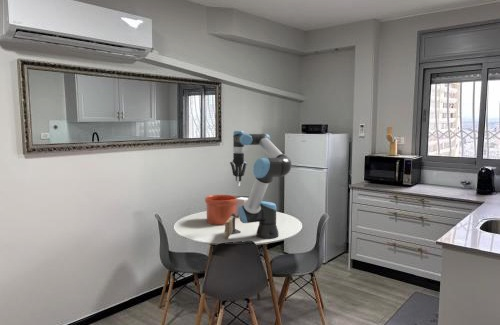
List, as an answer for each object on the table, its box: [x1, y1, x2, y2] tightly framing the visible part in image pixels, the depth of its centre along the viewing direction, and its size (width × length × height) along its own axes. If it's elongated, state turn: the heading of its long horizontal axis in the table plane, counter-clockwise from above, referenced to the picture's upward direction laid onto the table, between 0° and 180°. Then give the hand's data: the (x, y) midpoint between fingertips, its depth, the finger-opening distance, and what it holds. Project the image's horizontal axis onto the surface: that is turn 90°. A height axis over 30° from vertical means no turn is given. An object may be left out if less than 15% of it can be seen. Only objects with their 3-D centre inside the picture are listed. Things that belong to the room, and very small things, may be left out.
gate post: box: [230, 213, 241, 235], centre depth 257 cm, size 8×8×14 cm
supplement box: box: [235, 196, 249, 218], centre depth 304 cm, size 9×9×15 cm
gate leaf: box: [224, 216, 233, 240], centre depth 246 cm, size 18×2×10 cm, turn 172°
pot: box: [204, 194, 238, 226], centre depth 286 cm, size 25×25×19 cm
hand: (238, 185), depth 260 cm, fingers closed
